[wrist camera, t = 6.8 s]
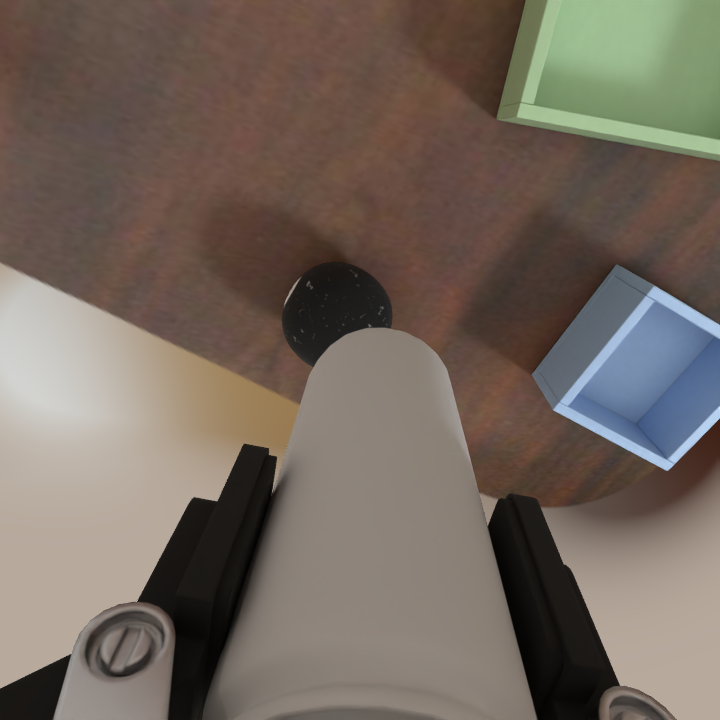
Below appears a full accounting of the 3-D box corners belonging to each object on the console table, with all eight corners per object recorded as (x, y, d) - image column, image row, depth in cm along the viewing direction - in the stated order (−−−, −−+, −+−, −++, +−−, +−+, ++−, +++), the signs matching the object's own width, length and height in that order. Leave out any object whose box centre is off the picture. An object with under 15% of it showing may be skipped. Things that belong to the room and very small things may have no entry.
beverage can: (470, 418, 18) (605, 877, 7) (346, 464, 19) (292, 926, 8) (415, 297, 16) (480, 651, 5) (282, 355, 17) (102, 753, 6)
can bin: (616, 263, 30) (654, 285, 25) (724, 329, 31) (777, 359, 27) (531, 374, 33) (552, 410, 29) (632, 429, 34) (667, 471, 30)
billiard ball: (357, 363, 33) (352, 409, 28) (275, 316, 32) (253, 354, 26) (409, 287, 31) (414, 320, 25) (323, 233, 30) (309, 256, 24)
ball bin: (565, -160, 22) (607, -228, 18) (834, -106, 23) (936, -161, 18) (495, 119, 27) (516, 117, 23) (720, 161, 27) (781, 166, 23)
